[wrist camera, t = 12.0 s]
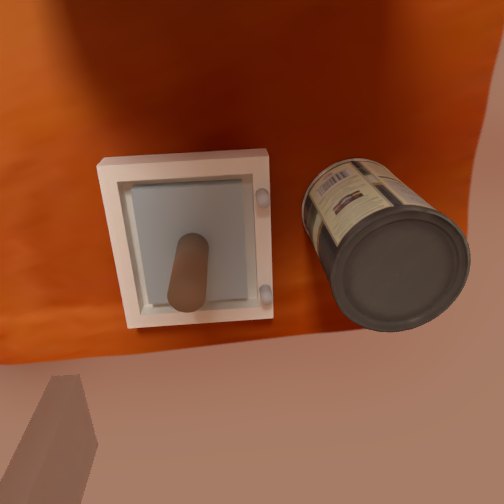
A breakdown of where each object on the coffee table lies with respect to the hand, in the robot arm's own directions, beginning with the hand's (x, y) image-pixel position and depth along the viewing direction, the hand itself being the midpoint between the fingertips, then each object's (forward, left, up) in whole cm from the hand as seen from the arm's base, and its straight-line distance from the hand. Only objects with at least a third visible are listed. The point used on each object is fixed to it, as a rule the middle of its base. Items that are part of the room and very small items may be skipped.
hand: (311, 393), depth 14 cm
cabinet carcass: (+9, -6, -33) cm, 34 cm away
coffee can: (+7, +10, -33) cm, 35 cm away
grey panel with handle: (+9, -6, -31) cm, 33 cm away
